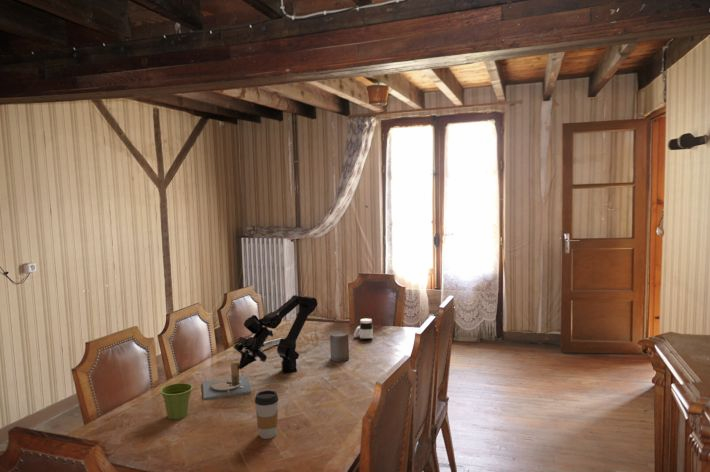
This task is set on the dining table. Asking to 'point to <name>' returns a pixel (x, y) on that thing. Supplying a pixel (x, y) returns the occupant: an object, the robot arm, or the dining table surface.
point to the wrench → (271, 343)
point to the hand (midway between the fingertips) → (239, 368)
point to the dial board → (213, 394)
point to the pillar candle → (339, 346)
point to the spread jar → (364, 330)
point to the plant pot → (176, 399)
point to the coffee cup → (267, 413)
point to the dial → (228, 380)
